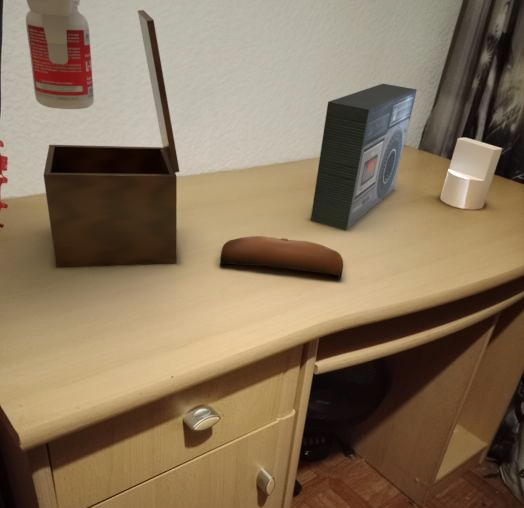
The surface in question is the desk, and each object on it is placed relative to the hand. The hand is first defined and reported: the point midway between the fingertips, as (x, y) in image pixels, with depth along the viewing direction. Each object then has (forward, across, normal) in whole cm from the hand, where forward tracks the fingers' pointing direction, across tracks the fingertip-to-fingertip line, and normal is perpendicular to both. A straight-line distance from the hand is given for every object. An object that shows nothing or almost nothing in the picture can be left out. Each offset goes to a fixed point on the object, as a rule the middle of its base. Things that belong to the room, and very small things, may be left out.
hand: (61, 57), depth 58 cm
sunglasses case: (+26, -2, +29) cm, 39 cm away
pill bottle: (+5, 0, 0) cm, 5 cm away
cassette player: (+26, -28, +52) cm, 64 cm away
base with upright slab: (+26, -29, +77) cm, 86 cm away
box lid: (+5, -10, +11) cm, 16 cm away
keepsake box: (+27, -10, +5) cm, 29 cm away
